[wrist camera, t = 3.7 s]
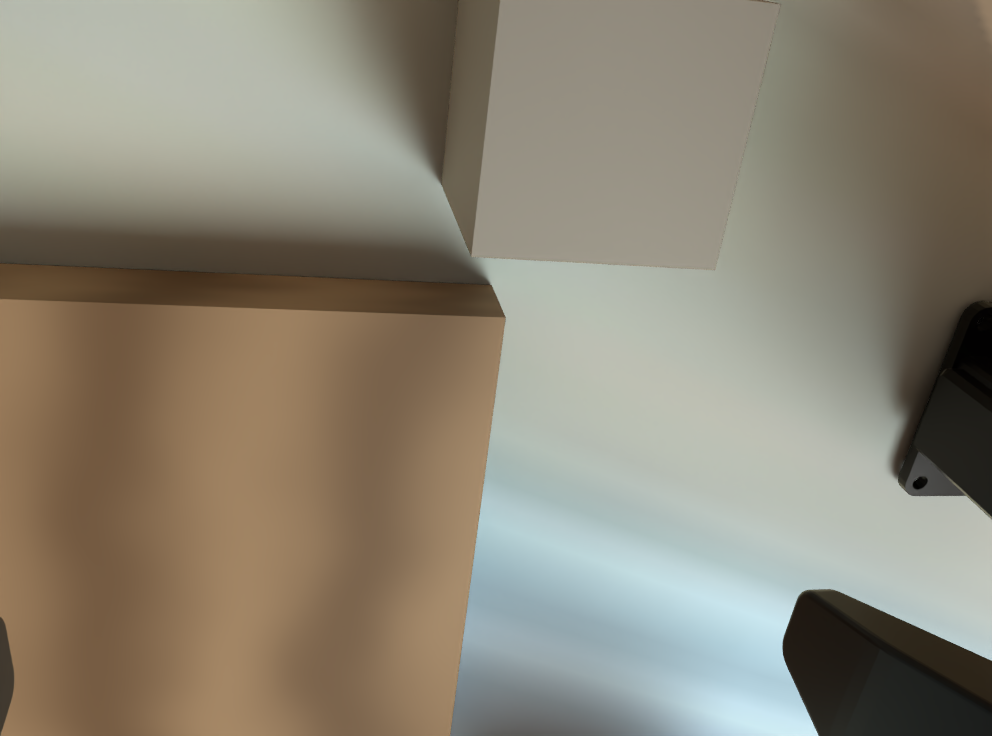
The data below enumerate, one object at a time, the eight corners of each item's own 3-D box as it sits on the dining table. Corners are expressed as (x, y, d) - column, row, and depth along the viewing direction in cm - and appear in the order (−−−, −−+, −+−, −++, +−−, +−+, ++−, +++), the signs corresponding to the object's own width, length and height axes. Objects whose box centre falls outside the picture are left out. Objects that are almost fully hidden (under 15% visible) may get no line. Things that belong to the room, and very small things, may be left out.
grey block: (680, -19, 20) (781, 3, 15) (637, 197, 22) (715, 270, 18) (461, -46, 19) (503, -31, 14) (440, 183, 21) (471, 256, 17)
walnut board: (491, 285, 22) (505, 317, 21) (437, 724, 29) (444, 776, 28) (-337, 248, 19) (-406, 283, 17) (-167, 760, 26) (-203, 822, 24)
